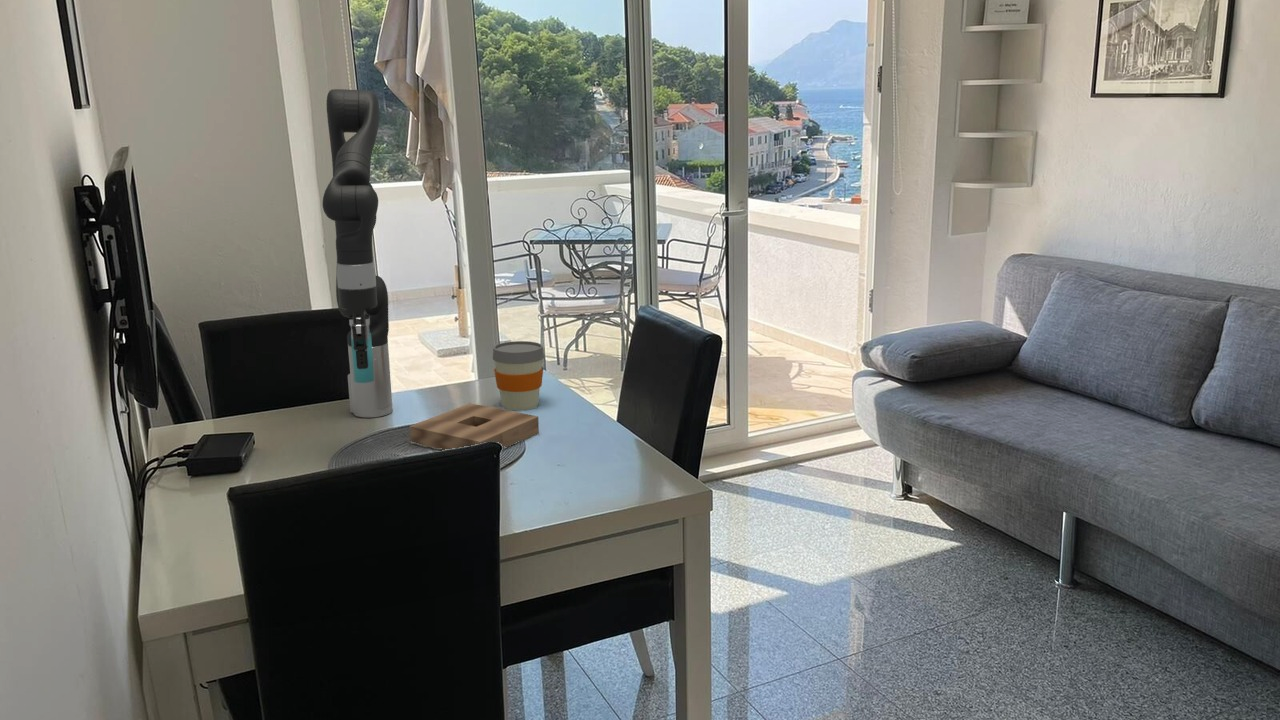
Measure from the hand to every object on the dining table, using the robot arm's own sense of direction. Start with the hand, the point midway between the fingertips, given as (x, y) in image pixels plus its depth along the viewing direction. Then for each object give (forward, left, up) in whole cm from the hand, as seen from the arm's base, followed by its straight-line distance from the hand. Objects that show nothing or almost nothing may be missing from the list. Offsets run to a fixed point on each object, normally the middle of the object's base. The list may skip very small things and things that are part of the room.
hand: (363, 365), depth 193 cm
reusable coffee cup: (+7, +43, -19) cm, 48 cm away
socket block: (+14, +18, -19) cm, 30 cm away
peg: (0, 0, -3) cm, 3 cm away
